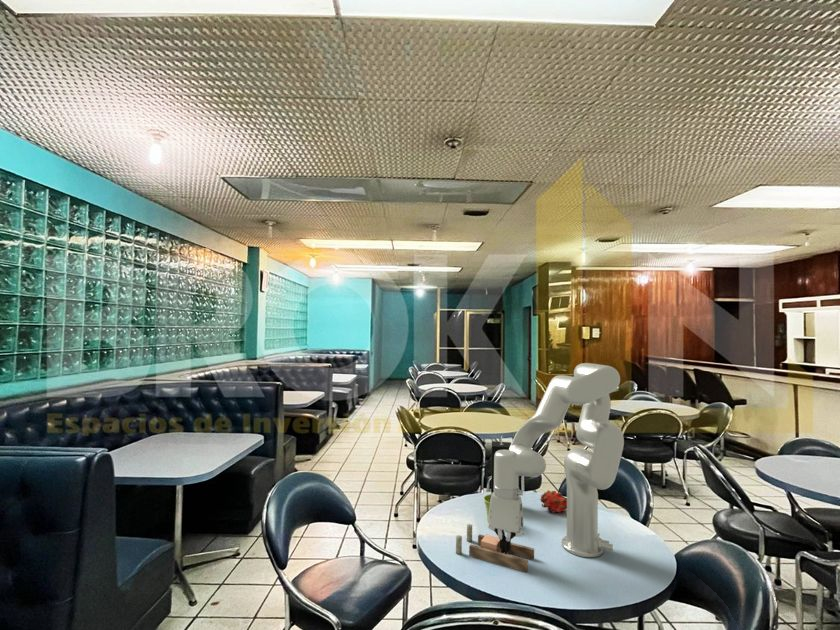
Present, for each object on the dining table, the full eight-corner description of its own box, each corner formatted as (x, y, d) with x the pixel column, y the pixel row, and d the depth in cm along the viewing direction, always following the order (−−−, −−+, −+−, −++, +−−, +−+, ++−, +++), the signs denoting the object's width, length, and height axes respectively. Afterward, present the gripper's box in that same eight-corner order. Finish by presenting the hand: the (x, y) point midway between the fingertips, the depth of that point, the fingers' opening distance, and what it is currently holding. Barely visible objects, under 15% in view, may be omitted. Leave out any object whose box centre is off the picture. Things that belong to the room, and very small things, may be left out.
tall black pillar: (490, 509, 166) (491, 437, 167) (490, 501, 174) (491, 433, 175) (511, 511, 165) (512, 439, 166) (510, 503, 173) (511, 434, 174)
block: (501, 552, 134) (501, 538, 134) (496, 560, 130) (496, 545, 130) (486, 548, 136) (486, 534, 136) (480, 555, 132) (480, 540, 132)
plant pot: (493, 530, 149) (494, 505, 149) (478, 520, 157) (478, 496, 157) (514, 525, 153) (514, 501, 153) (498, 515, 161) (498, 492, 162)
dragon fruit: (537, 512, 168) (568, 520, 166) (541, 507, 161) (573, 514, 159) (538, 491, 173) (569, 497, 171) (542, 484, 166) (574, 491, 164)
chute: (534, 556, 132) (535, 540, 132) (526, 574, 122) (526, 556, 122) (467, 538, 142) (468, 523, 143) (454, 553, 133) (455, 537, 133)
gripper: (532, 492, 131) (532, 552, 131) (486, 483, 138) (486, 540, 138) (527, 500, 125) (526, 564, 124) (479, 490, 132) (478, 550, 131)
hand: (505, 551), depth 131 cm, fingers closed
